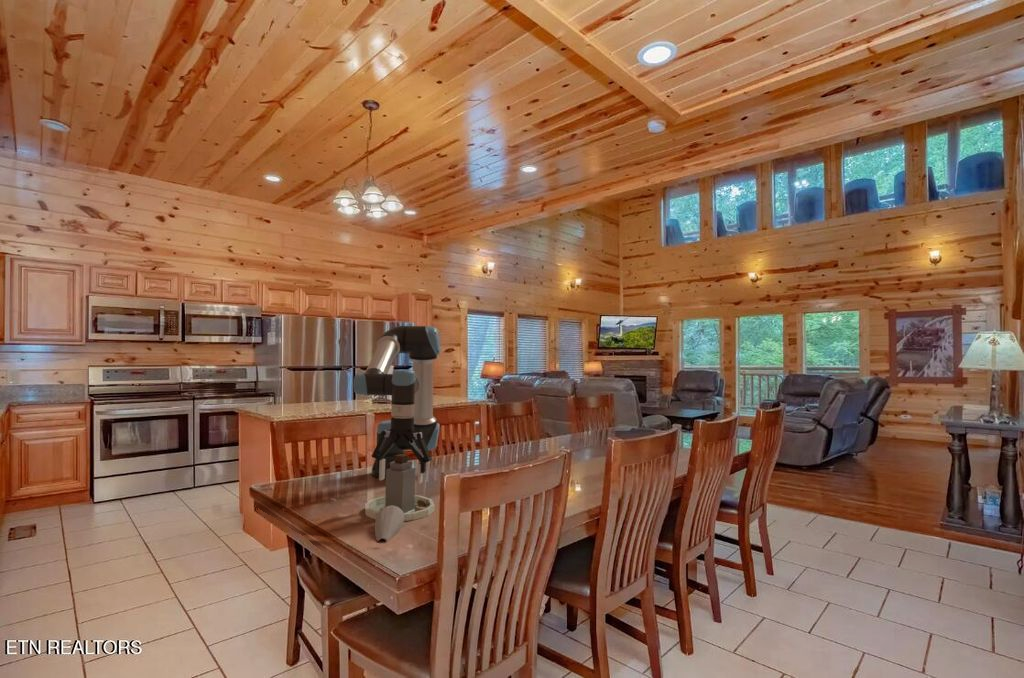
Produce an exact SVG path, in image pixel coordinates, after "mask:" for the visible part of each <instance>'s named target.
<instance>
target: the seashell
mask: <svg viewBox="0 0 1024 678" xmlns="http://www.w3.org/2000/svg"><path fill="white" fill-rule="evenodd" d="M404 522H405V521H404V513H403V511H402V510H401V509H400V508H399V507H397V506H393V505H390V506H387V507H385V508H383V509H381V510H380V512H379V513H378V515H377V517H376V520H375V521H374V535H375V539H376V541H377V543H379V541H380V540H384V542H385V543H388V542H390V540H391V539H393V537H394V536H396V535H397V534H398V532H399V530H400V529H401V527H402V525H403V523H404Z"/></svg>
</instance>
